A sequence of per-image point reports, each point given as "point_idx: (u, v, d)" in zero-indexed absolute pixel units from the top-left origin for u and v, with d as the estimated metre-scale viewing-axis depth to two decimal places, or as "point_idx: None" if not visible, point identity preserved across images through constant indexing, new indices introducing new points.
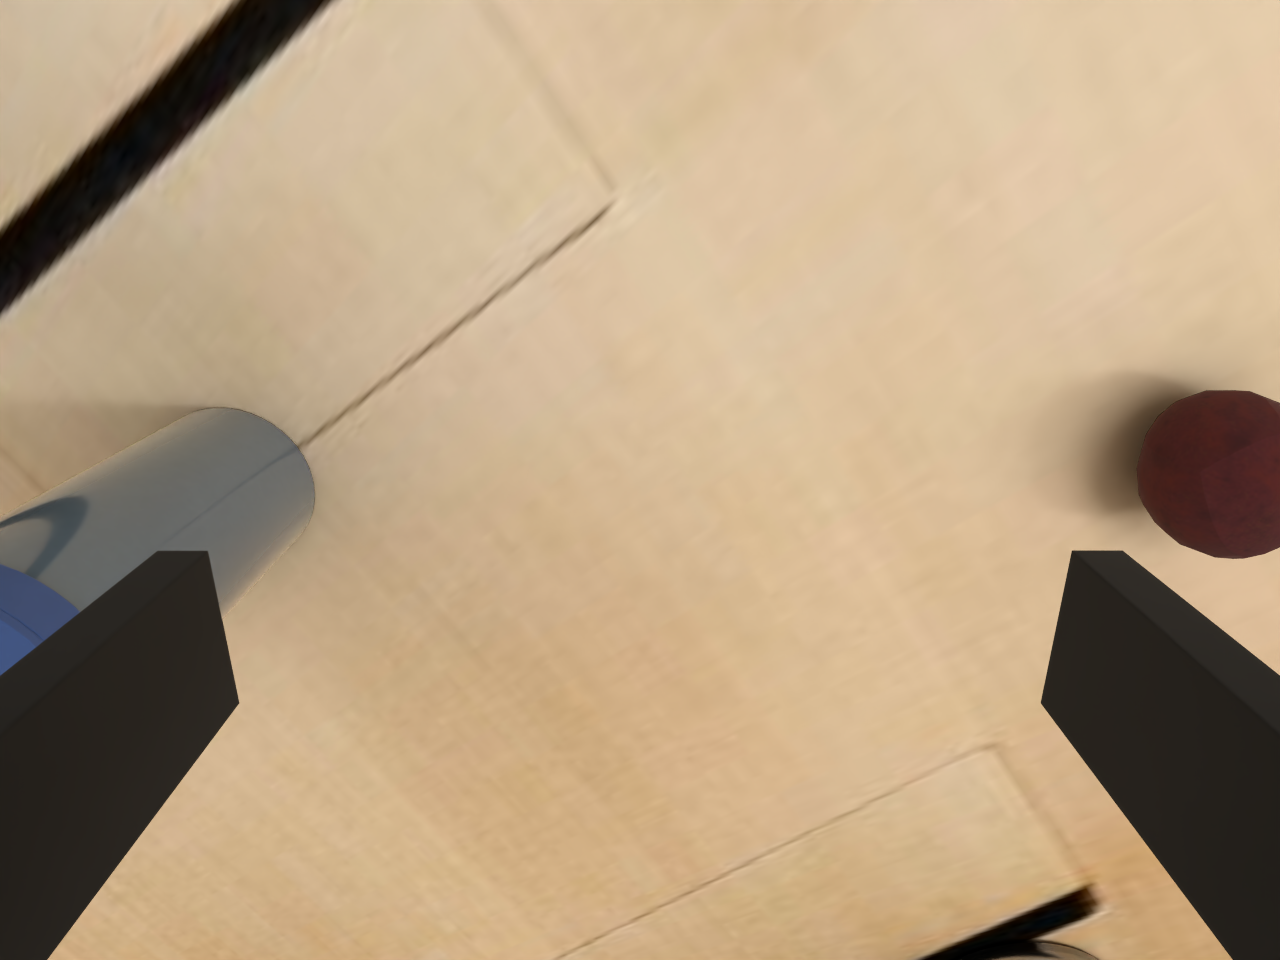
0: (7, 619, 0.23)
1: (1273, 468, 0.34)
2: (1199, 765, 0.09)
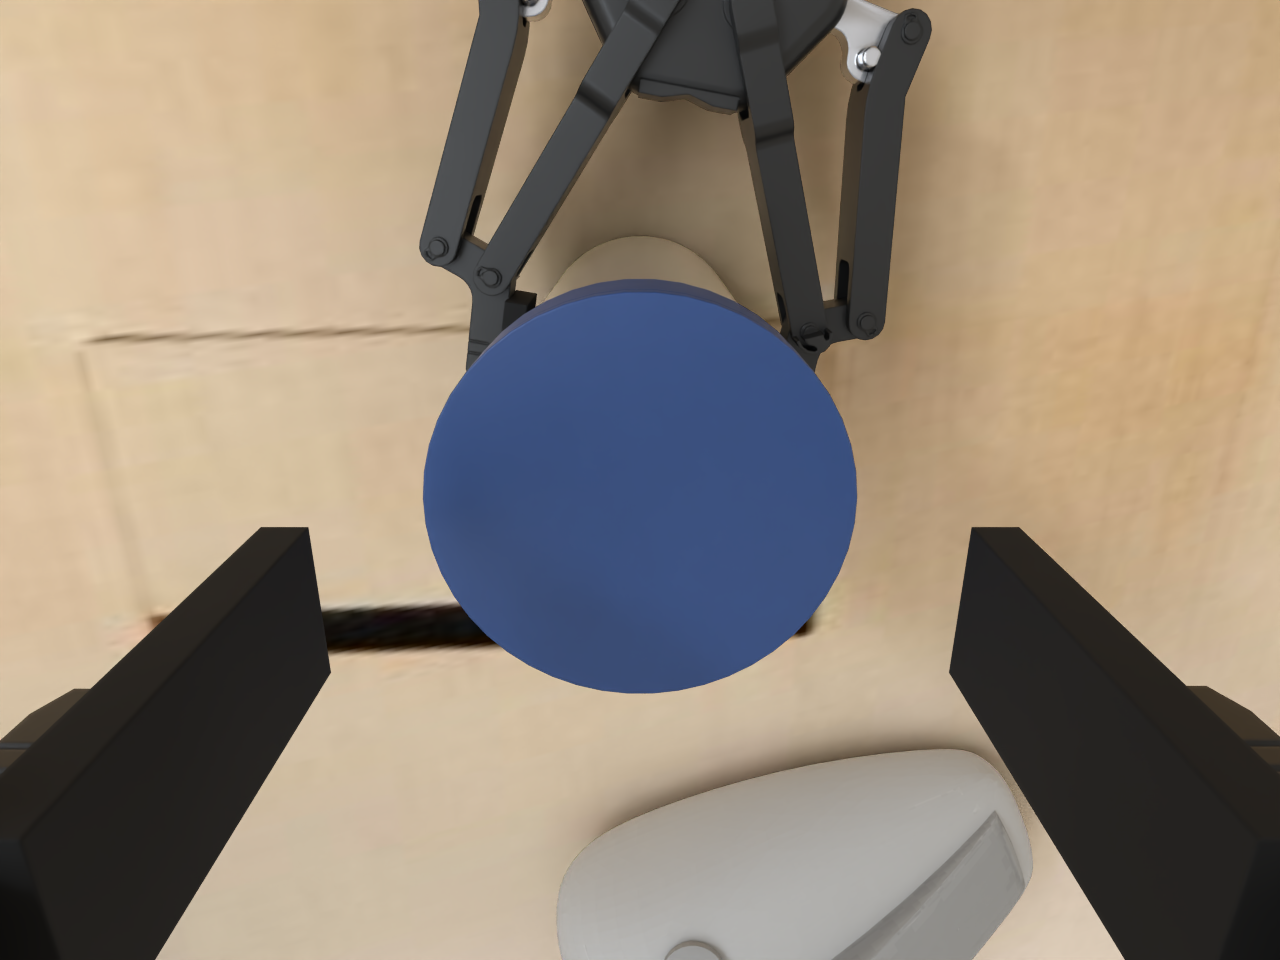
0: None
1: None
2: (1062, 718, 0.10)
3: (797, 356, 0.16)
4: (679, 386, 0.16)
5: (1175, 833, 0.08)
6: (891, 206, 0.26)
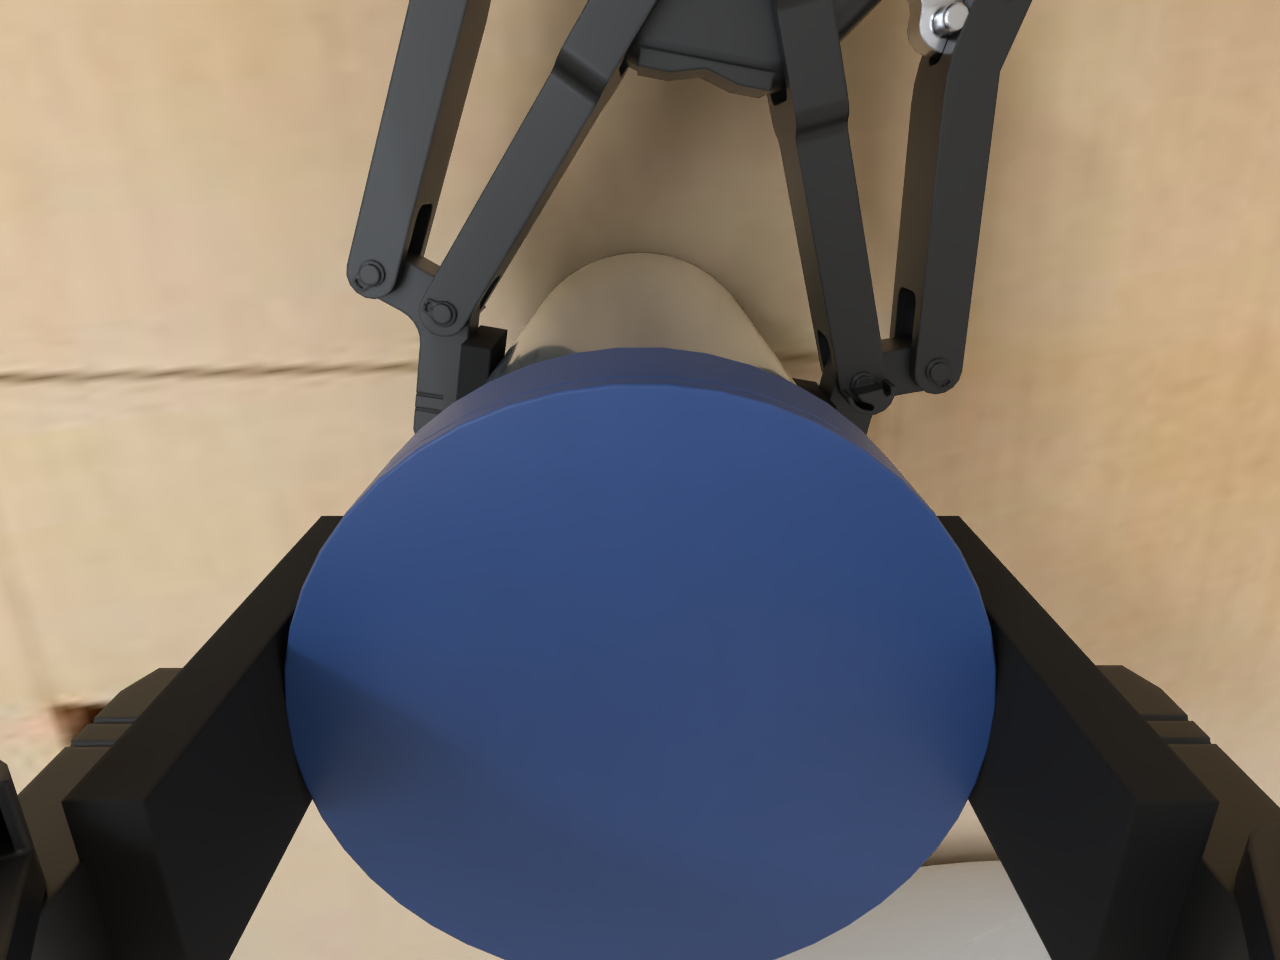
0: None
1: None
2: None
3: (909, 489, 0.09)
4: (708, 537, 0.10)
5: (1071, 800, 0.09)
6: (975, 219, 0.20)
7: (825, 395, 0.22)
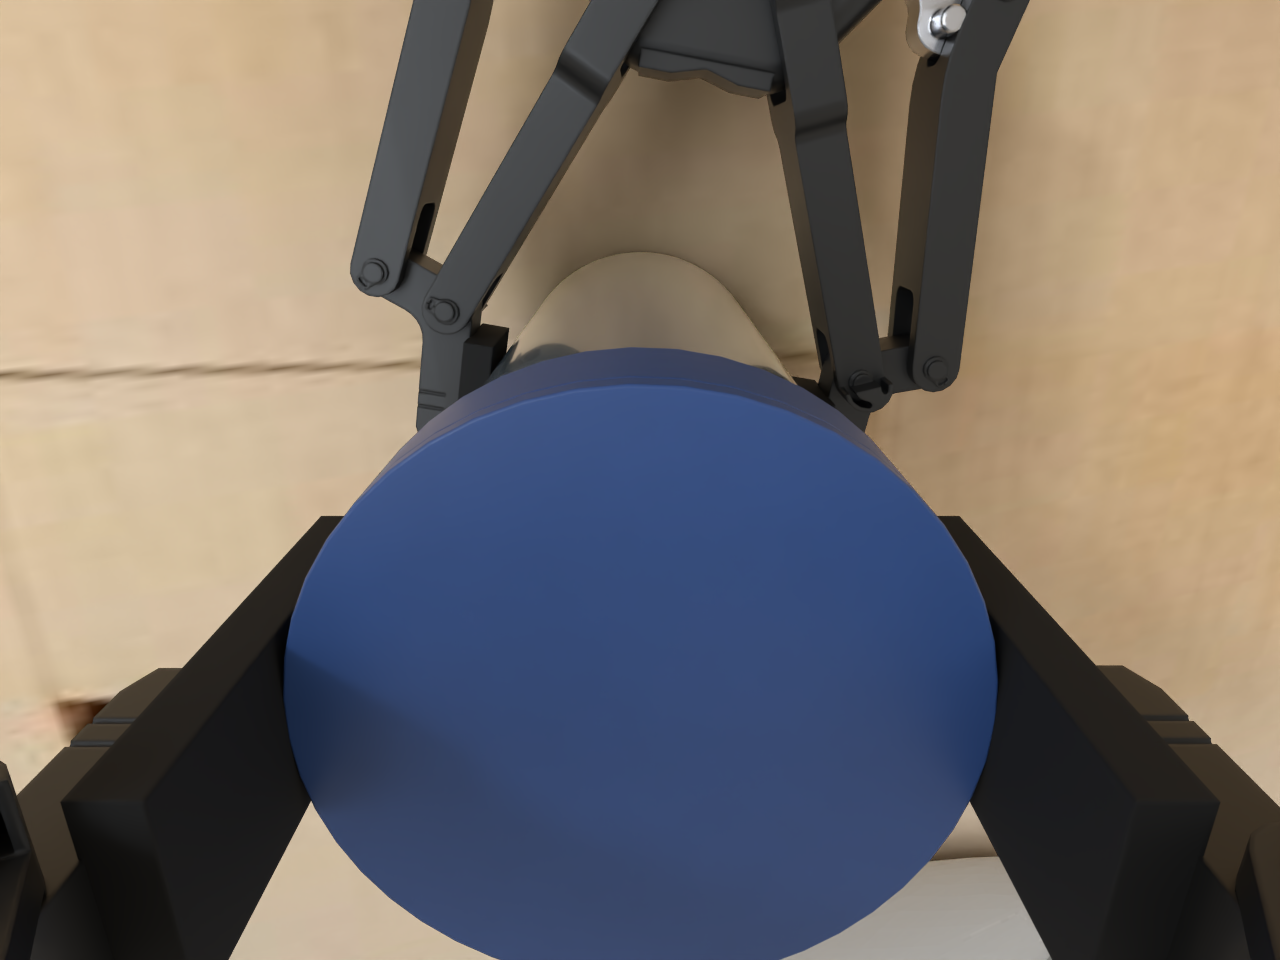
0: None
1: None
2: None
3: (441, 437, 0.09)
4: (447, 624, 0.10)
5: (1072, 800, 0.09)
6: (973, 219, 0.20)
7: (824, 393, 0.22)
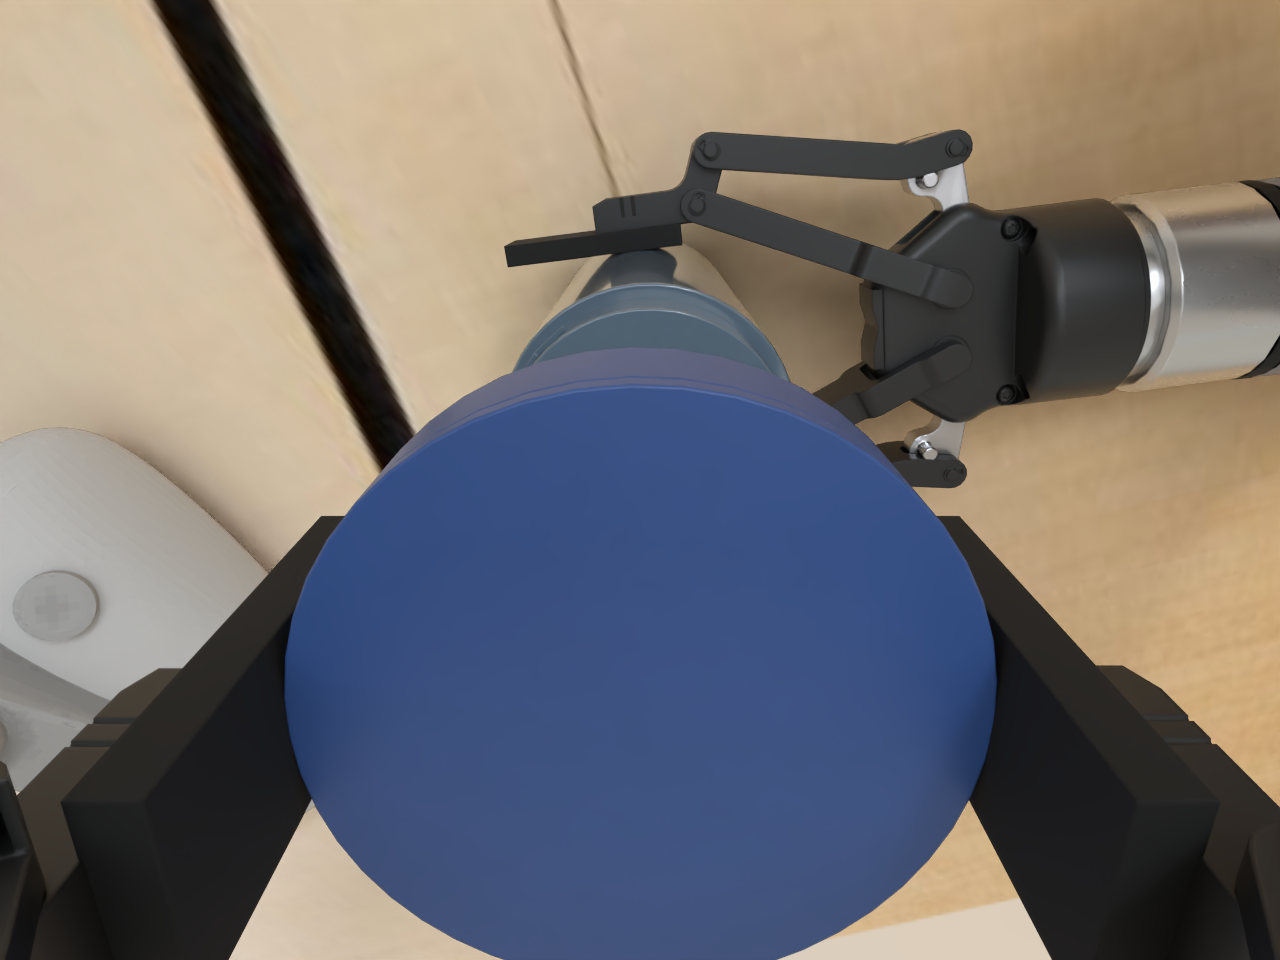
0: None
1: None
2: None
3: (441, 437, 0.09)
4: (447, 623, 0.10)
5: (1072, 800, 0.09)
6: None
7: None
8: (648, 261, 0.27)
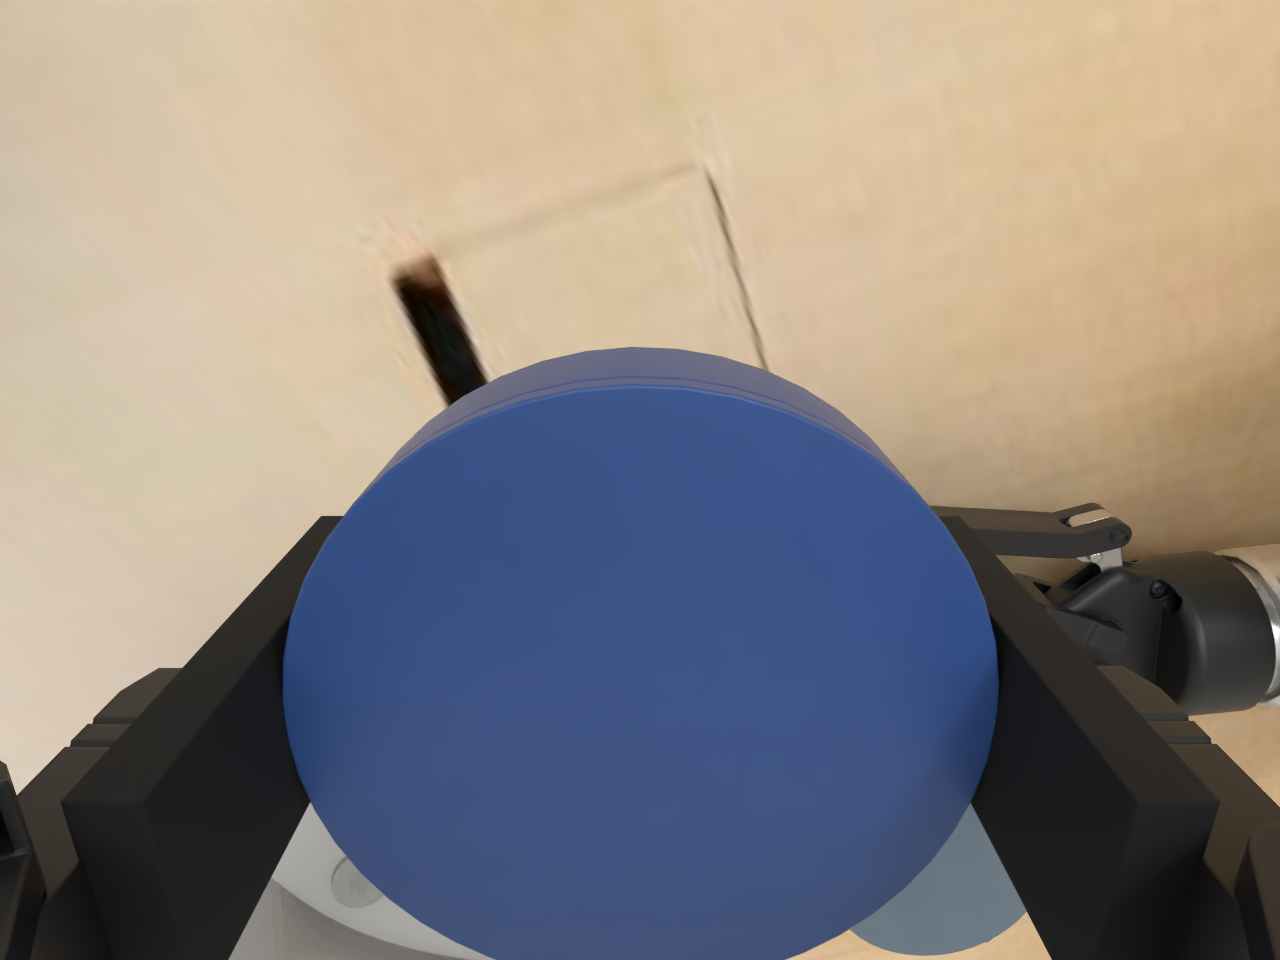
0: None
1: None
2: None
3: (440, 438, 0.09)
4: (446, 625, 0.10)
5: (1072, 800, 0.09)
6: None
7: None
8: None
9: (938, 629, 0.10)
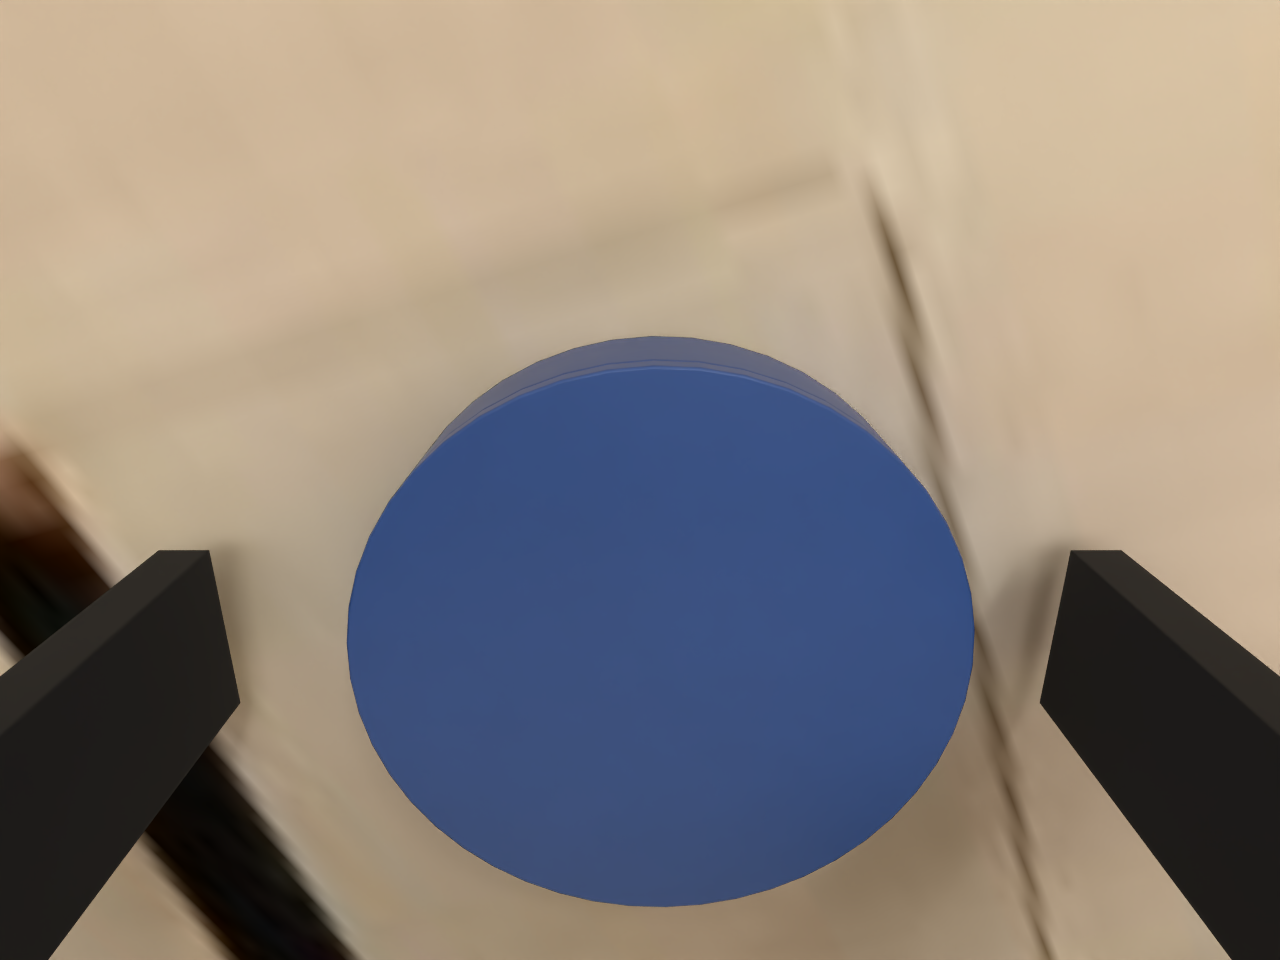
0: None
1: None
2: (1198, 764, 0.09)
3: (490, 412, 0.11)
4: (492, 577, 0.11)
5: None
6: None
7: None
8: None
9: (920, 581, 0.11)
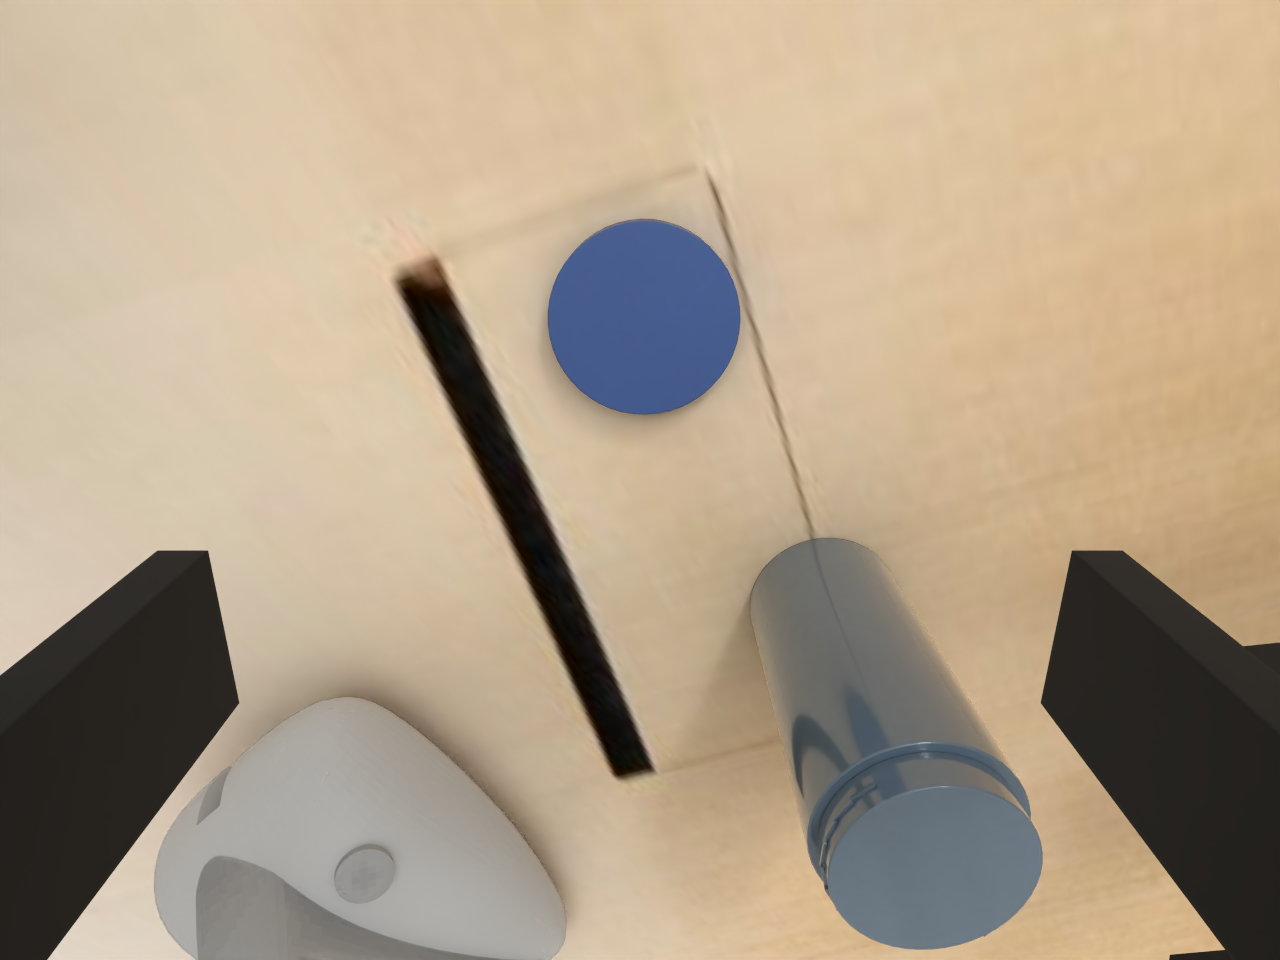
0: None
1: None
2: (1199, 765, 0.09)
3: (595, 235, 0.37)
4: (593, 288, 0.38)
5: None
6: None
7: None
8: (888, 655, 0.34)
9: (721, 289, 0.38)
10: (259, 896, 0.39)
